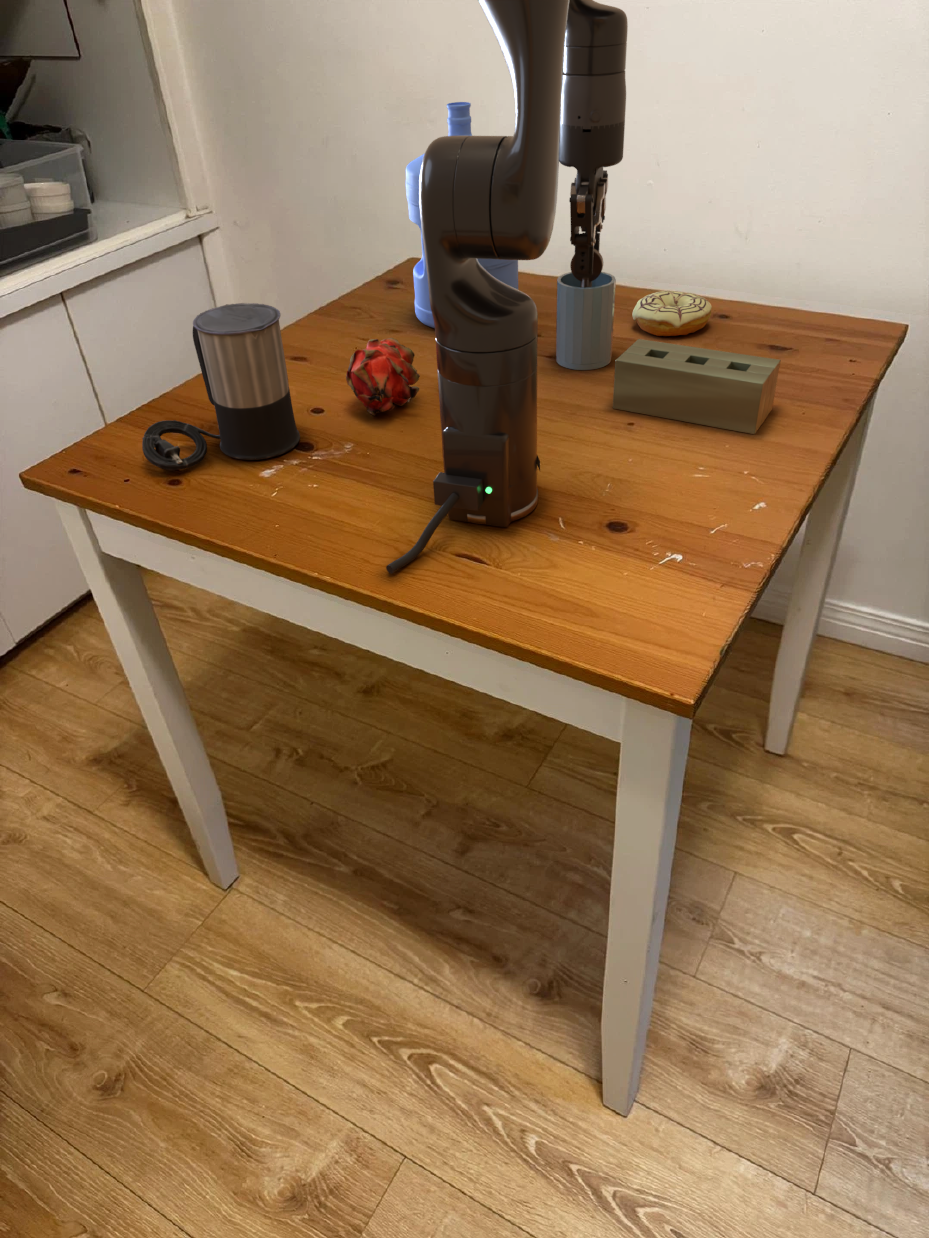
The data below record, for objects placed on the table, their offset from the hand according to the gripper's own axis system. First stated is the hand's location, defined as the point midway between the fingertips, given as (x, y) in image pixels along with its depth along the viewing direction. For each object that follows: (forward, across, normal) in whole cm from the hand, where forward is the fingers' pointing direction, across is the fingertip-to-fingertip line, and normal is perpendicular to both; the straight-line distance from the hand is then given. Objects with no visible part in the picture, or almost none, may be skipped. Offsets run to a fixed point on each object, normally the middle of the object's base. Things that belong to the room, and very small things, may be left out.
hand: (586, 269), depth 115 cm
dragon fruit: (+12, +18, -22) cm, 31 cm away
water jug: (+12, -15, -20) cm, 27 cm away
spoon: (+11, 0, 0) cm, 11 cm away
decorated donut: (+12, -14, +10) cm, 21 cm away
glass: (+12, 0, 0) cm, 12 cm away
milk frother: (+12, +33, -36) cm, 50 cm away
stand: (+12, +13, +15) cm, 23 cm away
